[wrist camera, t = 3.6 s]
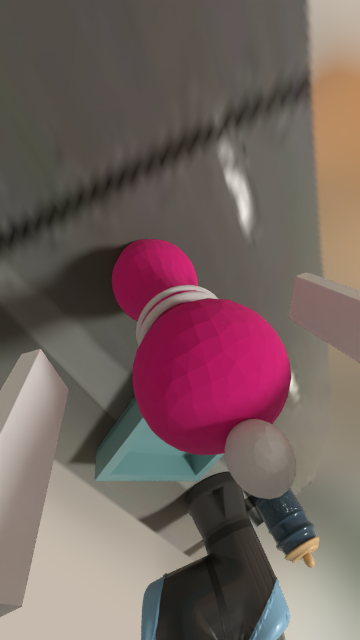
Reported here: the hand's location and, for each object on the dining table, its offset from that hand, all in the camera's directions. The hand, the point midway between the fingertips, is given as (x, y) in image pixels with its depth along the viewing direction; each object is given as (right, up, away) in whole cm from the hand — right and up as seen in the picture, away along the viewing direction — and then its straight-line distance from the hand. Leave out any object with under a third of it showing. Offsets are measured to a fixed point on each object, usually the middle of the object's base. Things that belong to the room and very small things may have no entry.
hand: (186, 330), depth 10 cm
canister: (+30, -58, +59) cm, 88 cm away
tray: (0, -16, +24) cm, 29 cm away
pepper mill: (-4, +6, +11) cm, 13 cm away
